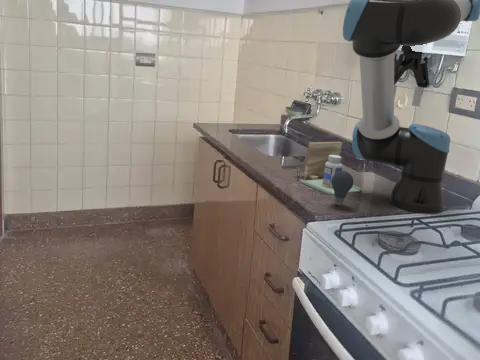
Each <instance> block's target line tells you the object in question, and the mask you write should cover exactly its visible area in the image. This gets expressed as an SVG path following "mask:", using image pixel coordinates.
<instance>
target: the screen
mask: <svg viewBox="0 0 480 360" xmlns="http://www.w3.org/2000/svg"><path fill="white" fill-rule="evenodd" d="M342 146H343V142H342V141H317V142H316V141H315V142H311V141H310V142H308V145H307V152H306V161H305V166H304V172H302V173H301V176H302V177H303V178H305V179H309V180H319V179H320V178H323V177H324V170H325V163H326V162H328V161H329V160H328V157H329V155H338V156H341V152H342Z"/></svg>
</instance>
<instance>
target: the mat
mask: <svg viewBox="0 0 480 360" xmlns="http://www.w3.org/2000/svg"><path fill="white" fill-rule="evenodd" d="M299 183H301V184H303V185H305V186H308V187H310V188H312V189H314V190H316V191H320V192H321V193H323V194H326V195H329V196H333V195H334V189H333V188H332V187H327V186H324V185H323V178H318V180H312V179H307V180H305V179H299ZM362 191H363V188H361V187H358V186H356V185H354V184H353V186H352V188H351V189H350V190H349V191H348V193H347V194H349V193H350V194H351V193H359V192H362Z"/></svg>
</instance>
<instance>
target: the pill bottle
mask: <svg viewBox="0 0 480 360" xmlns="http://www.w3.org/2000/svg"><path fill="white" fill-rule="evenodd" d="M328 160H329V161H328V162H326V163H325V170H324V177H322V179H323V185H324V186H327V187H332V184H331V180H332V177H333V175H334V174H335V173H337V172H339V171H343V164H342V156H341V155H340V156H338V155H329V157H328ZM332 188H333V187H332Z"/></svg>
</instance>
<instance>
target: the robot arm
mask: <svg viewBox="0 0 480 360" xmlns="http://www.w3.org/2000/svg"><path fill="white" fill-rule="evenodd" d="M479 18H480V0H350V1H349V3H348V5H347V8H346V11H345V15H344V19H343V25H342V37H343V39H344V41H347V42H349V43H350V42H352V50H353V52H354V53H355V55H357V56H358V57H359V69H360V70H359V71H360V85H361V86H360V87H361V103H362V105H361V106H362V118H360V120H359V121H358V122H356V124H355V125H354V127H353V131H352V136H351V137H352V140H351V148H352V152H353V154H354V156H356V158H358V159H360V160H363V161H367V162H372V163H378V164H381V165H382V164H383V165H389V166H394V167H398V168H399V167H400V168H401V172H400V176H399V178H398V180H397V182H396V183H395V185H394V187H393V189H392V191H391V193H390V197H389V202H390V203H391V204H392V205H394V206H396V207H398V208H400V209H404V210H407V211H411V212H415V213H422V214H423V213H424V214H439V213H442V212H443V209H444V204H445V203H444V202H445V201H444V194H443V192H444V191H443V186H442V185H443V184H442V183H443V179H444V174H445V170H446V164H447V159H448V154H449V153H450V145H451V137H450V135H449V133H447V132H444V131H443V130H440V129H437V128H434V127H431V126H428V125H423V124H418V123H411V124H410V125H409V126H408V127H404V126H400V125H401V124H400V120H399V118H398V117H397V116H396V115H395V98H396V94H397V90H398V89H397V87H398V85H396V84H397V83H398V81H399V80H400V79H401V77H402V76H403V75H404V74H405V72H407V71H408V70H410V71H412V73H413V76H414V79H415V80H414V81H415V83H416V85H415V86H414V92H413V96H412V104H411V106H412V107H421V101H422V97H423V94H424V90H425V89H424V88H428V86H430V81H429V80H430V77H429V69H428V62H429V61H428V56H422V55H423V54H424V53H422V52H415V51H412V49H411V47H410V46H415V45H423V44H426V45H427V44H431V43H434V42H437V41H440V40H443V39H445V38H447V37H448V36H451V34H453V33H454V32H455V31H456V30H457V28H458V27H459V24H460V23H461V22H477V20H479ZM402 45H403V46H402ZM400 47H402V48H401V49H400ZM399 49H400V51H401V53H396V52H397V51H399Z"/></svg>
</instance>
